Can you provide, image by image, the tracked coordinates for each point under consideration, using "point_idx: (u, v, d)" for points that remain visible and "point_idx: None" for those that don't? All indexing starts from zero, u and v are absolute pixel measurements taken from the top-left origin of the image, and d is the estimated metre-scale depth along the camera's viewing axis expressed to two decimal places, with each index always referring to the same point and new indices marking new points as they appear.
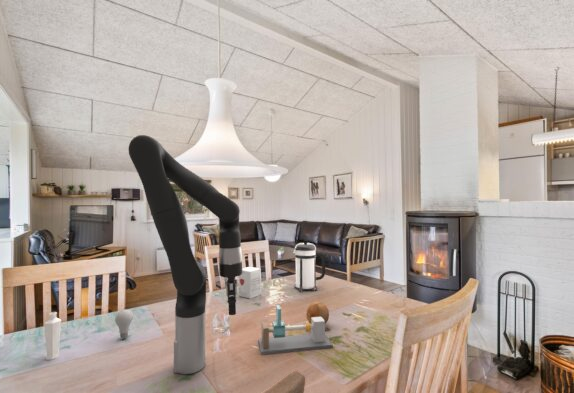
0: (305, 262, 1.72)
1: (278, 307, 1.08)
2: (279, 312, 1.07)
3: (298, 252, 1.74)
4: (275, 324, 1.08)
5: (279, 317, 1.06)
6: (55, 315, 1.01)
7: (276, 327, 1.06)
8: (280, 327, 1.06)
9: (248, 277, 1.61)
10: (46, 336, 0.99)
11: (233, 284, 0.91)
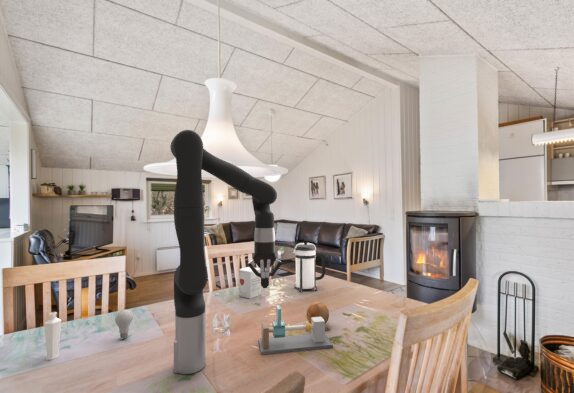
0: (305, 262, 1.72)
1: (278, 307, 1.08)
2: (279, 312, 1.07)
3: (298, 252, 1.74)
4: (275, 324, 1.08)
5: (279, 317, 1.06)
6: (55, 315, 1.01)
7: (276, 327, 1.06)
8: (280, 327, 1.06)
9: (248, 277, 1.61)
10: (46, 336, 0.99)
11: None
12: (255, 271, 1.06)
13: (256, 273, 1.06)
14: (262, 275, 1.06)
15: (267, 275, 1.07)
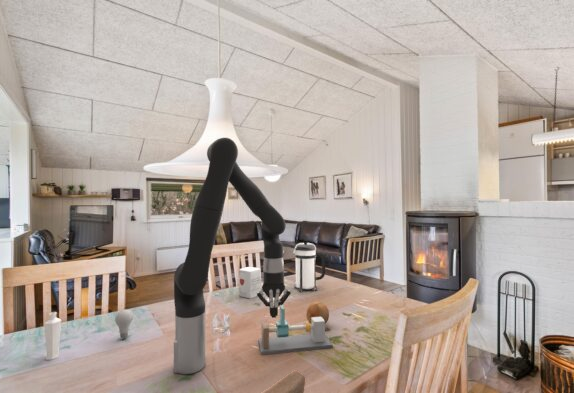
0: (305, 262, 1.72)
1: (282, 307, 1.08)
2: (283, 312, 1.07)
3: (298, 252, 1.74)
4: (279, 324, 1.08)
5: (283, 317, 1.07)
6: (55, 315, 1.01)
7: (280, 327, 1.06)
8: (284, 326, 1.07)
9: (248, 277, 1.61)
10: (46, 336, 0.99)
11: None
12: (264, 301, 1.06)
13: (265, 303, 1.07)
14: (271, 305, 1.07)
15: (276, 305, 1.07)
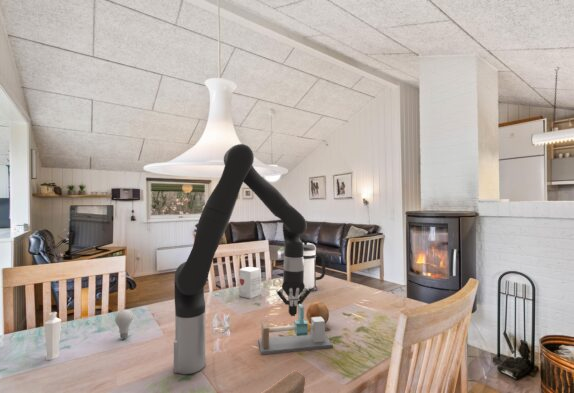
0: (305, 262, 1.72)
1: (300, 305, 1.10)
2: (302, 310, 1.08)
3: None
4: (297, 322, 1.09)
5: (302, 315, 1.08)
6: (55, 315, 1.01)
7: (299, 325, 1.08)
8: (303, 325, 1.08)
9: (248, 277, 1.61)
10: (46, 336, 0.99)
11: None
12: (284, 299, 1.08)
13: (285, 301, 1.08)
14: (290, 303, 1.08)
15: (295, 303, 1.09)
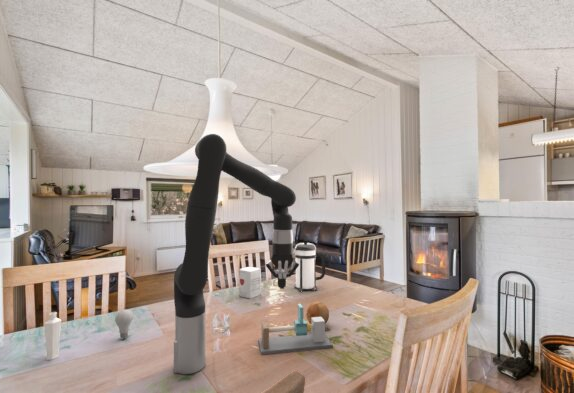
0: (305, 262, 1.72)
1: (300, 305, 1.10)
2: (301, 310, 1.08)
3: (298, 252, 1.74)
4: (297, 322, 1.09)
5: (301, 315, 1.08)
6: (55, 315, 1.01)
7: (298, 325, 1.08)
8: (303, 325, 1.08)
9: (248, 277, 1.61)
10: (46, 336, 0.99)
11: None
12: (273, 272, 1.08)
13: (274, 273, 1.08)
14: (279, 276, 1.09)
15: (284, 276, 1.09)
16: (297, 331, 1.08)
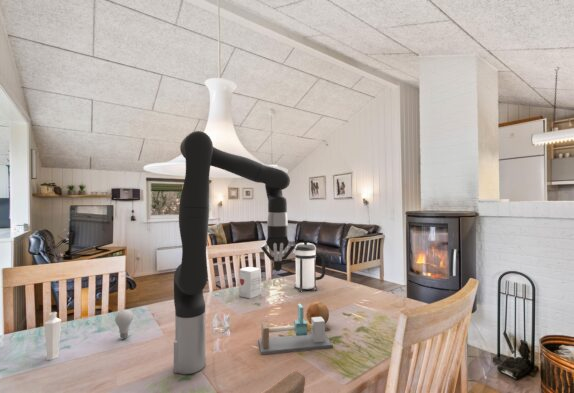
0: (305, 262, 1.72)
1: (300, 305, 1.10)
2: (301, 310, 1.08)
3: (298, 252, 1.74)
4: (297, 322, 1.09)
5: (301, 315, 1.08)
6: (55, 315, 1.01)
7: (298, 325, 1.08)
8: (303, 325, 1.08)
9: (248, 277, 1.61)
10: (46, 336, 0.99)
11: None
12: (268, 254, 1.09)
13: (269, 256, 1.09)
14: (275, 258, 1.09)
15: (280, 258, 1.10)
16: (297, 331, 1.08)
